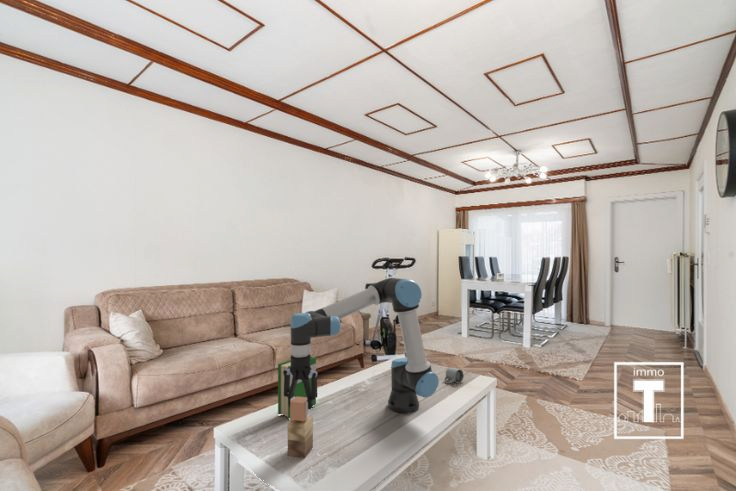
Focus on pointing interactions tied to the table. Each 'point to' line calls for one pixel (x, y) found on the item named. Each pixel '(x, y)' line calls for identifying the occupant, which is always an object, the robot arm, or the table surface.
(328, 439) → the table surface
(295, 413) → the terracotta block
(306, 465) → the table surface
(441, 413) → the table surface
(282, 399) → the hardback book
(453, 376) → the ceramic mug
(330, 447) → the table surface
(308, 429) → the oak middle block
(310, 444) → the walnut base block
